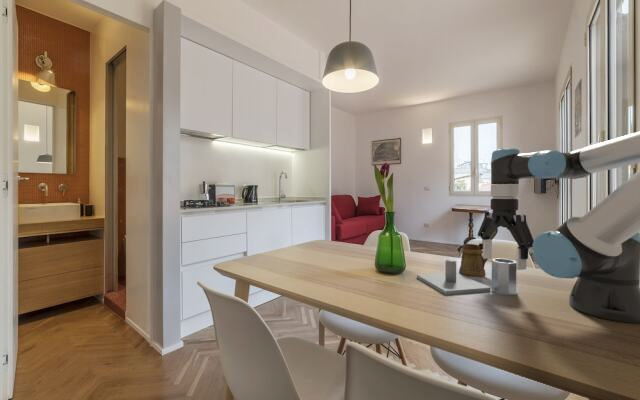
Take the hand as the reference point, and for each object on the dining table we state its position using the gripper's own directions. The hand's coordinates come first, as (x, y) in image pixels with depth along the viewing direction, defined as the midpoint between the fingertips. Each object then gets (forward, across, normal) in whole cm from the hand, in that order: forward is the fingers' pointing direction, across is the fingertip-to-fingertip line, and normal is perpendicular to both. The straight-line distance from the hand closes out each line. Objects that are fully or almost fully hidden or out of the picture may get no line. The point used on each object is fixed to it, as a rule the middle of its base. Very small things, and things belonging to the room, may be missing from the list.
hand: (502, 263), depth 92 cm
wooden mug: (+10, +18, -6) cm, 22 cm away
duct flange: (+9, +10, +12) cm, 18 cm away
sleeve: (+9, 0, 0) cm, 9 cm away
